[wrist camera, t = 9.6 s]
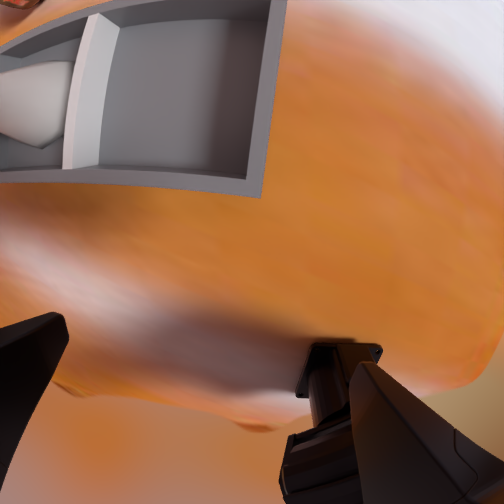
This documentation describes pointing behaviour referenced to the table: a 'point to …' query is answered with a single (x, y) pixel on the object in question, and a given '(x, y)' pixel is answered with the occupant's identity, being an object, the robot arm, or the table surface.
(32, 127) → the flask
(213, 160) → the caddy
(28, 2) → the tin
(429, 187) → the table surface
